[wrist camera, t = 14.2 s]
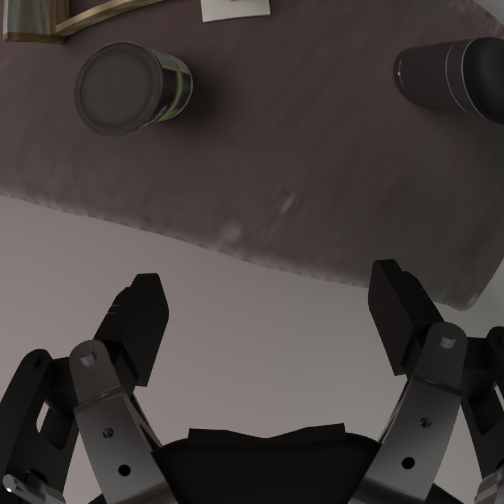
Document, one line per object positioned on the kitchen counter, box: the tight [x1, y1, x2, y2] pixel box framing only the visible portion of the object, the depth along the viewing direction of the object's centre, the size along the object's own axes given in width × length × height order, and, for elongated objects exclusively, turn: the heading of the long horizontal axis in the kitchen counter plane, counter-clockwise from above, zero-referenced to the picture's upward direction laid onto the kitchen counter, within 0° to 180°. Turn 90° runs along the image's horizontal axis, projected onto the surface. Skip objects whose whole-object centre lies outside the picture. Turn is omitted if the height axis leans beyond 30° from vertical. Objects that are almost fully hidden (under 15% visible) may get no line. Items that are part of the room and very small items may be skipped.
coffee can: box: [74, 40, 193, 136], centre depth 30 cm, size 10×10×14 cm
